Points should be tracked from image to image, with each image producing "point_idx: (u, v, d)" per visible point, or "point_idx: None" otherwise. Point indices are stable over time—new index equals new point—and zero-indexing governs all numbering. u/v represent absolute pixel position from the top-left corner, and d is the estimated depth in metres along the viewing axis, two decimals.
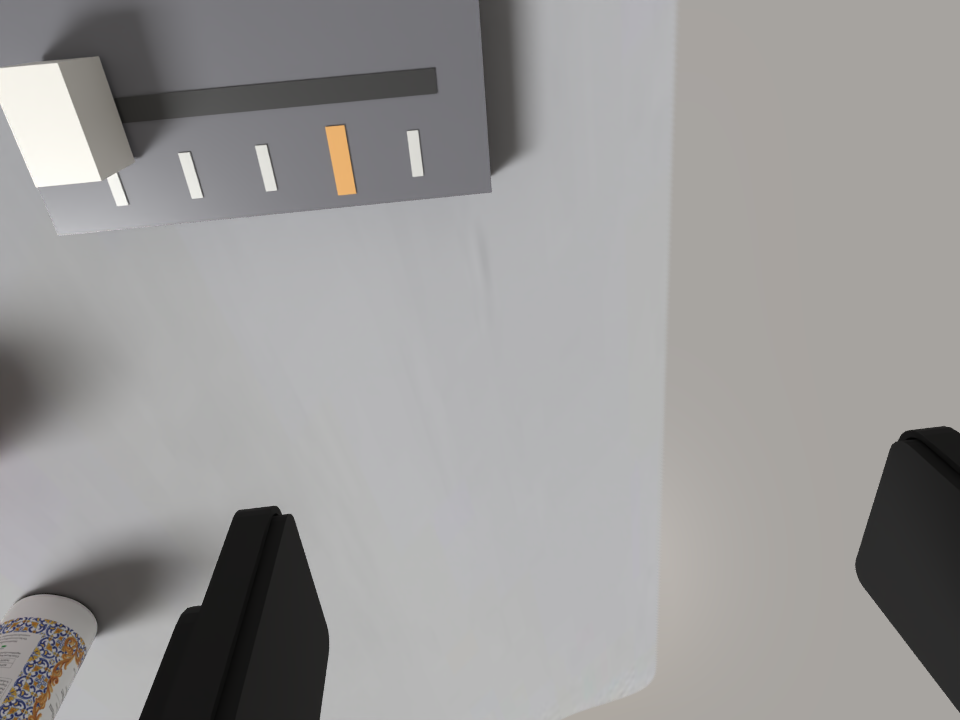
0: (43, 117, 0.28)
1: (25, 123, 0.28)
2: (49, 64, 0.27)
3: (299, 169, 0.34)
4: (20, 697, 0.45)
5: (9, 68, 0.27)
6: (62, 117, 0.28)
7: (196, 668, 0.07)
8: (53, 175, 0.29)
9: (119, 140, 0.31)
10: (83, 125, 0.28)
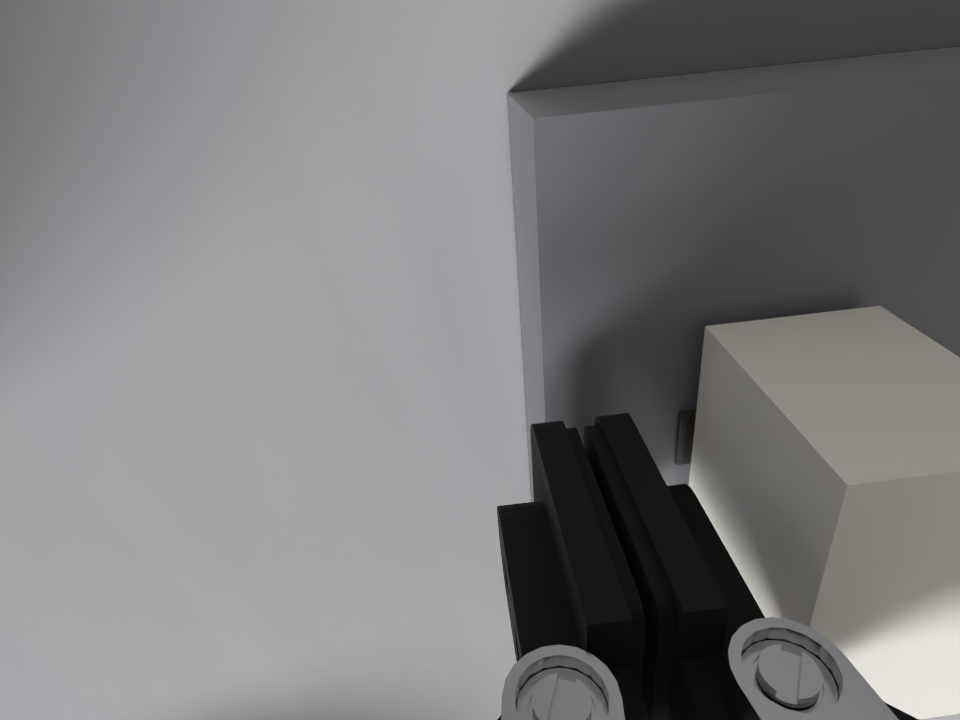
0: (931, 594, 0.08)
1: (864, 611, 0.08)
2: None
3: None
4: None
5: (933, 478, 0.07)
6: None
7: (578, 533, 0.08)
8: None
9: None
10: None
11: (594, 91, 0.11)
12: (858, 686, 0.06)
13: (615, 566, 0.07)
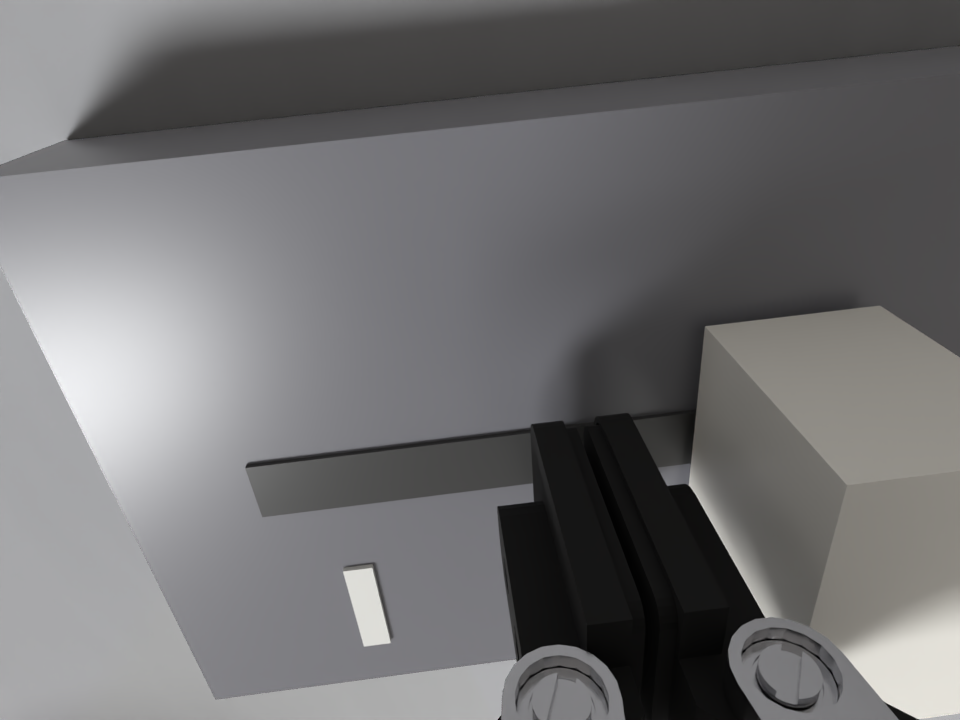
0: (931, 593, 0.08)
1: (864, 610, 0.08)
2: None
3: None
4: None
5: (933, 478, 0.07)
6: None
7: (577, 533, 0.08)
8: None
9: None
10: None
11: (119, 142, 0.10)
12: (858, 687, 0.06)
13: (614, 567, 0.07)
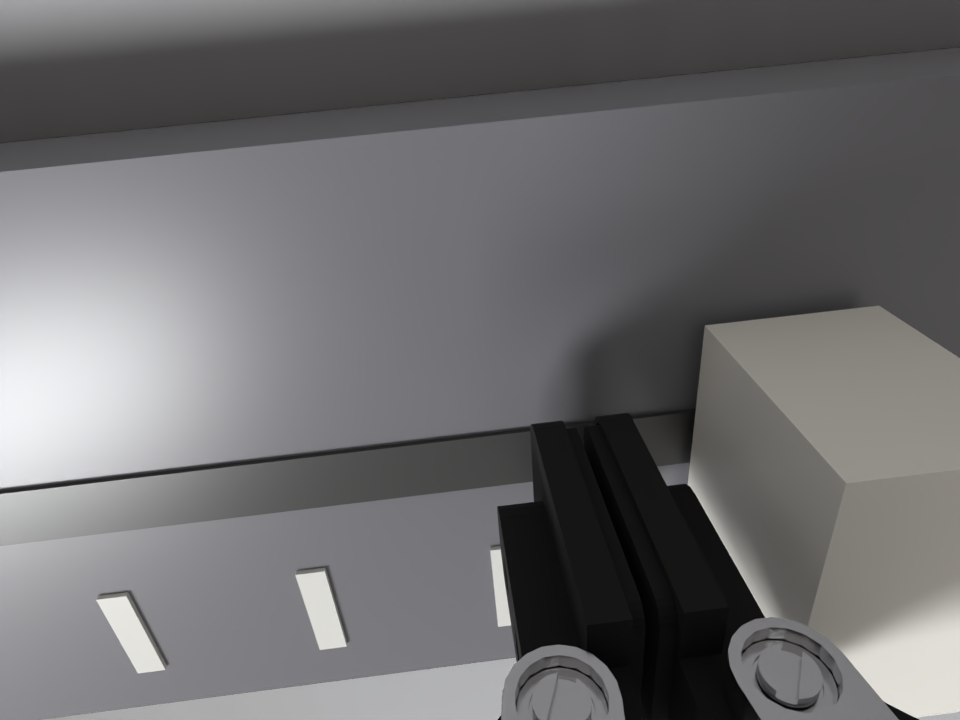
0: (929, 592, 0.08)
1: (863, 609, 0.08)
2: None
3: None
4: None
5: (932, 477, 0.07)
6: None
7: (577, 533, 0.08)
8: None
9: None
10: None
11: None
12: (858, 686, 0.06)
13: (614, 567, 0.07)
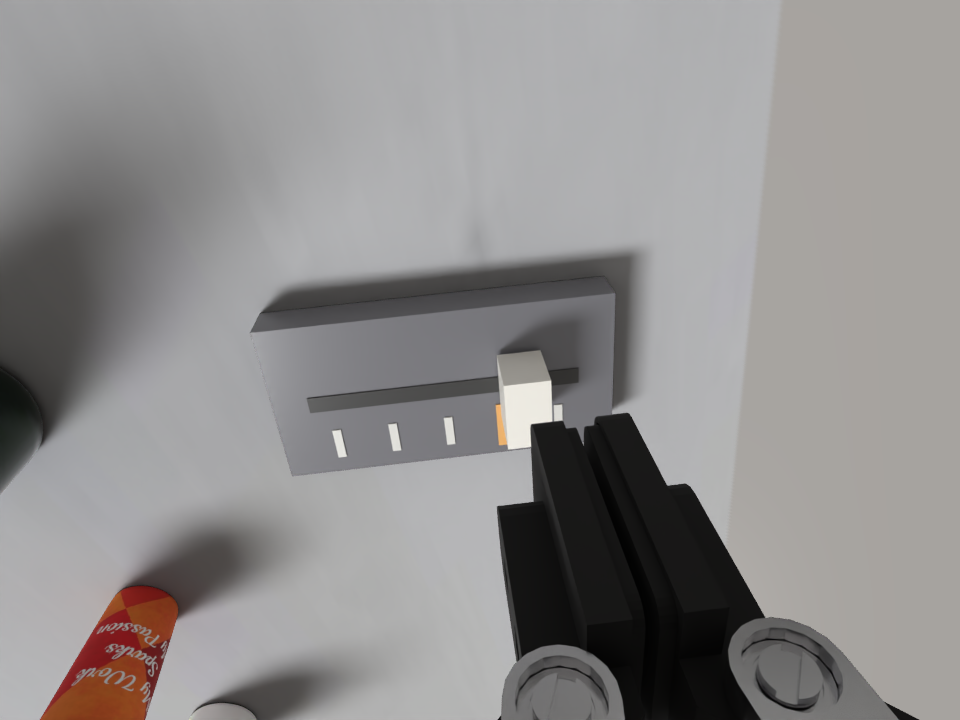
0: (529, 410, 0.40)
1: (516, 414, 0.40)
2: (544, 381, 0.39)
3: (473, 430, 0.46)
4: None
5: (519, 385, 0.39)
6: (541, 410, 0.40)
7: (577, 533, 0.08)
8: (522, 442, 0.42)
9: None
10: (551, 412, 0.41)
11: (277, 317, 0.42)
12: (858, 686, 0.06)
13: (614, 568, 0.07)
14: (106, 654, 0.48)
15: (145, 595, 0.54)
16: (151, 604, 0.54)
